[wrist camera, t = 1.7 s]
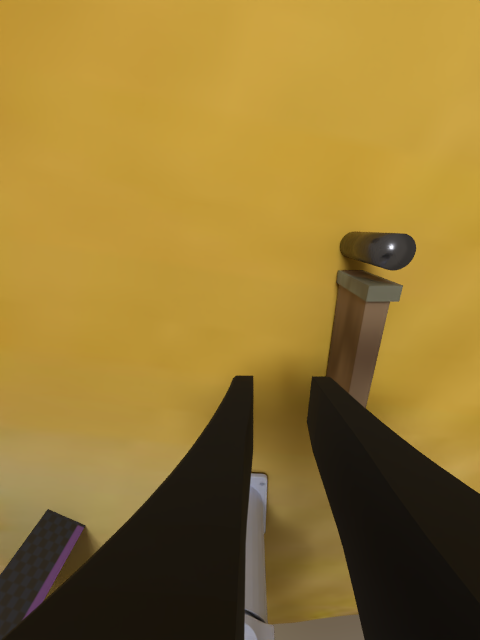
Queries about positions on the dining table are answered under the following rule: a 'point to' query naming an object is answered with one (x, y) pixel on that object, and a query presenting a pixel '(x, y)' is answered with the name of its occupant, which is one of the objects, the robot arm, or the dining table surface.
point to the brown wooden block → (359, 329)
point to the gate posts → (379, 248)
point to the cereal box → (35, 568)
